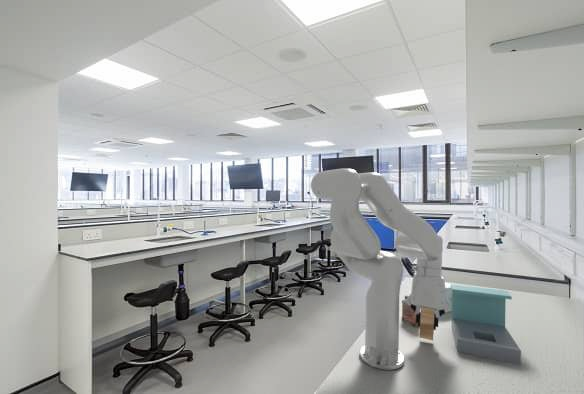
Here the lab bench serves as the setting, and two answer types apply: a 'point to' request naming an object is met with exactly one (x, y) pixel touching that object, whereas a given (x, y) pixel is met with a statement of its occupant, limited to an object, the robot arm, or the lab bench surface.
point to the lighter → (408, 314)
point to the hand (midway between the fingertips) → (426, 326)
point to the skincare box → (448, 294)
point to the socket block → (482, 323)
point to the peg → (427, 323)
